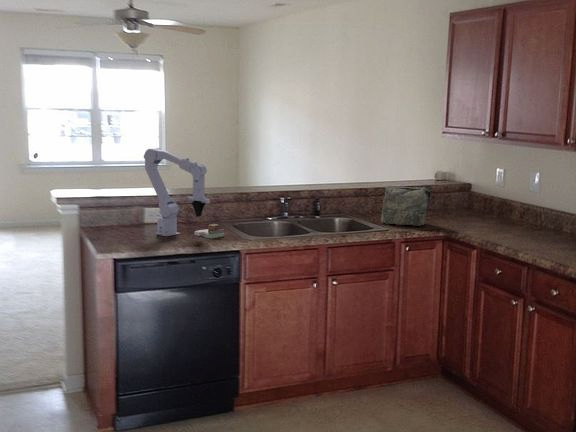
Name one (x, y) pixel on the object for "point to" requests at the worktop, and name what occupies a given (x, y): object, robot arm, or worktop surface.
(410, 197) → the lunch bag
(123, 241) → the worktop surface
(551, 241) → the worktop surface
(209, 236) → the board
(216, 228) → the walnut block
